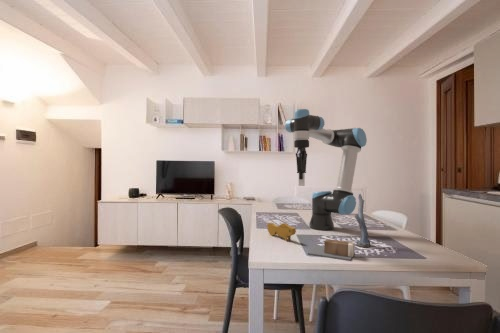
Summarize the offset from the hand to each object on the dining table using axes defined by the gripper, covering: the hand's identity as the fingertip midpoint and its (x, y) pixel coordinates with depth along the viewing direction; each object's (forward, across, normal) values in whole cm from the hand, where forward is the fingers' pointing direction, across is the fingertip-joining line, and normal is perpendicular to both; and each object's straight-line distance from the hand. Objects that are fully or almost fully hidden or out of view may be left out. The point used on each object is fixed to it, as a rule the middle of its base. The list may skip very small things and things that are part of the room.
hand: (301, 185), depth 143 cm
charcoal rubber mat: (+29, +11, +17) cm, 36 cm away
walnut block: (+26, +12, +15) cm, 32 cm away
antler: (+30, -10, +28) cm, 42 cm away
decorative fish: (+29, -2, -12) cm, 32 cm away
